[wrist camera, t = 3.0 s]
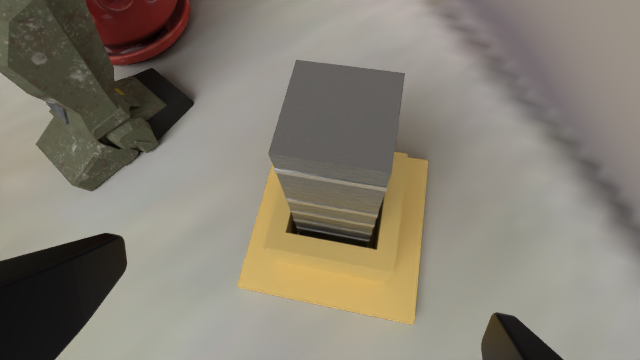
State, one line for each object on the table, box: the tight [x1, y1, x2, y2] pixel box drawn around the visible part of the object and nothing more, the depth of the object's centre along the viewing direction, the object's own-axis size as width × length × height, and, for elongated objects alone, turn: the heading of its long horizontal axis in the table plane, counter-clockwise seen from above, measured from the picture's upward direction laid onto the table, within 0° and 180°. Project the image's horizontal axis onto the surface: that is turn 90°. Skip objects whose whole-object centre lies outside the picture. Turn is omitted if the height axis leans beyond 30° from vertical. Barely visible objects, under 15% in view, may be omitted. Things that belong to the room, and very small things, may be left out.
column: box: [269, 60, 405, 248], centre depth 17 cm, size 4×4×12 cm
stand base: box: [237, 152, 428, 324], centre depth 21 cm, size 11×11×5 cm
